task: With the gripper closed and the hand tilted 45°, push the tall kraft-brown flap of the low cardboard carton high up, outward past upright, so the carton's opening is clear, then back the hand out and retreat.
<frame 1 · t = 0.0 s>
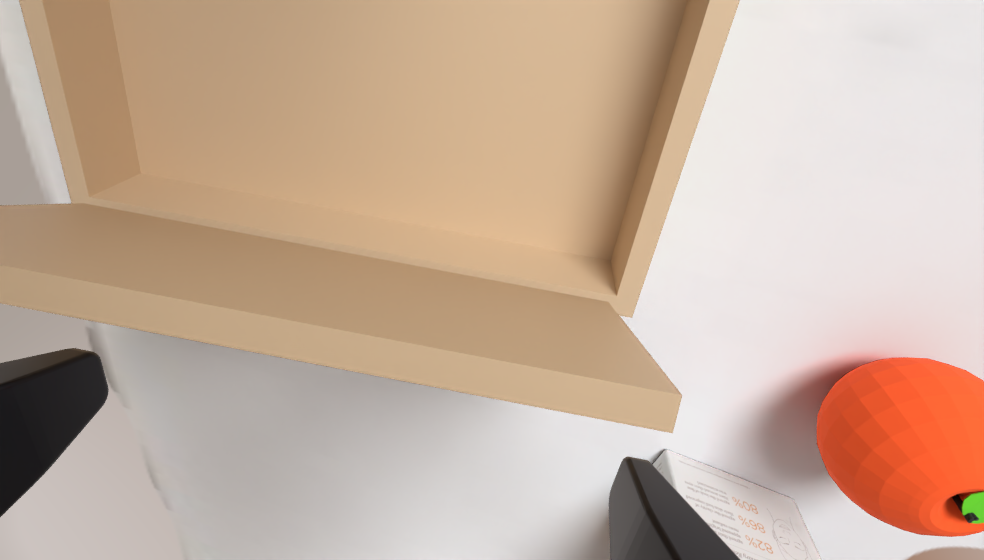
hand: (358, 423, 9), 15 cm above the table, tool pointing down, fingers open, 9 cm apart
clementine: (882, 379, 25), on the table
carton flap: (289, 283, 15), point 9 cm above the table, hinge at -20.0°
small box: (700, 498, 30), on the table
carton: (385, 31, 20), on the table
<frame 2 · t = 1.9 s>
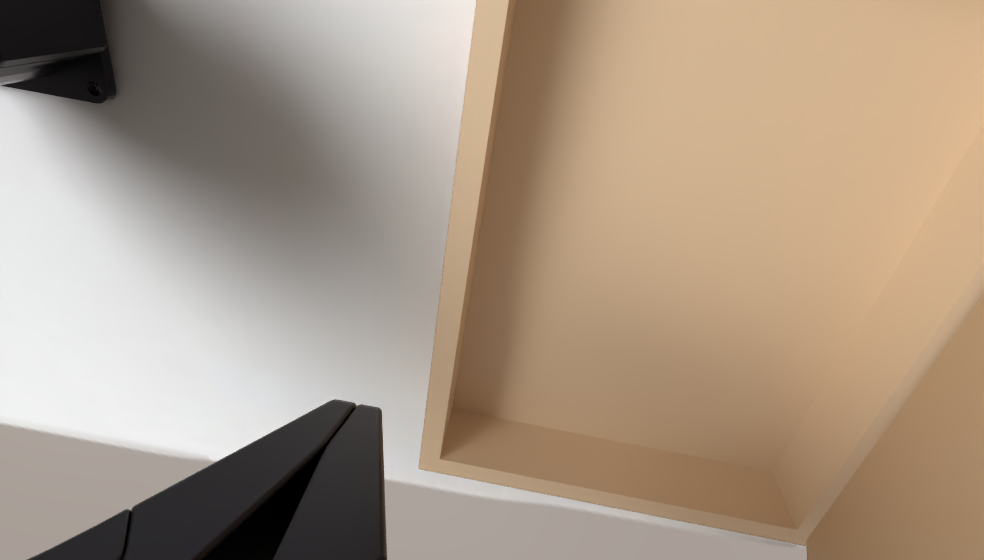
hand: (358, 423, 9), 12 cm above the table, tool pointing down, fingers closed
carton: (684, 227, 19), on the table
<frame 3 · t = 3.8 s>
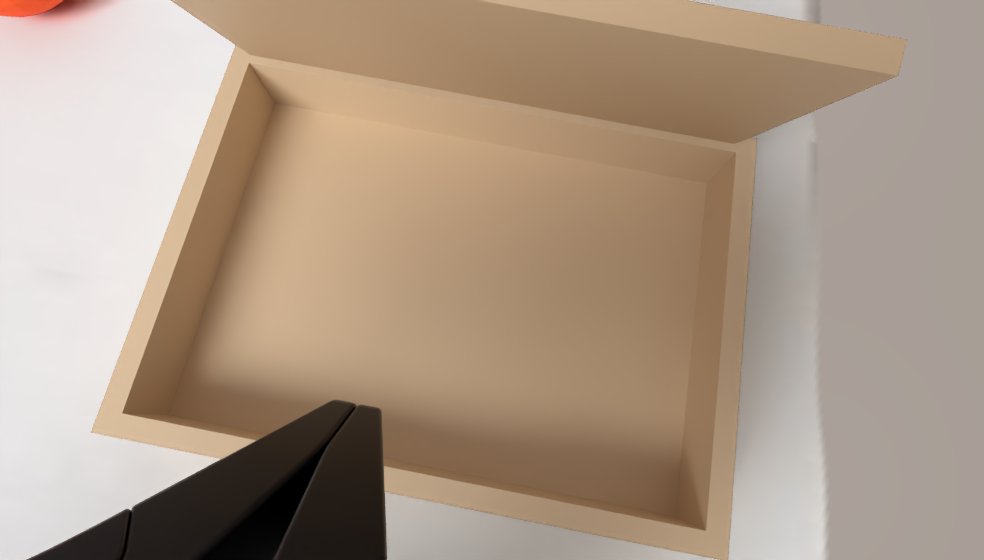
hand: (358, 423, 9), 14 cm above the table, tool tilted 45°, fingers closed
carton flap: (485, 49, 17), point 9 cm above the table, hinge at -20.0°
carton: (457, 294, 24), on the table
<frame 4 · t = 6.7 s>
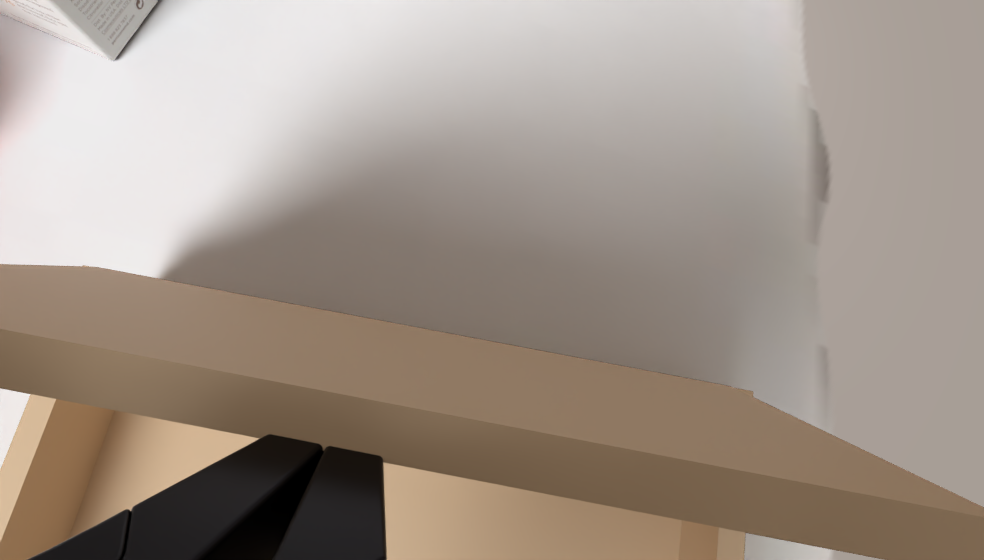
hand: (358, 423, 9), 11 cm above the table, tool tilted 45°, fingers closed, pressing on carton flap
carton flap: (369, 361, 12), point 9 cm above the table, hinge at -15.3°, touching gripper
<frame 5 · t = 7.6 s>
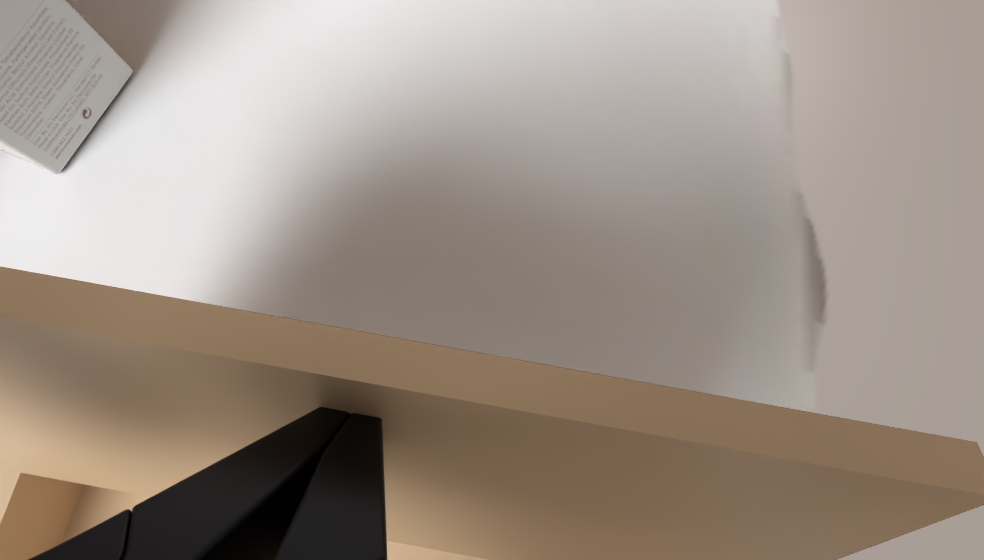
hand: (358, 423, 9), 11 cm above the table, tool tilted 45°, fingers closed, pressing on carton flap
carton flap: (345, 460, 11), point 8 cm above the table, hinge at 23.6°, touching gripper
small box: (24, 93, 23), on the table
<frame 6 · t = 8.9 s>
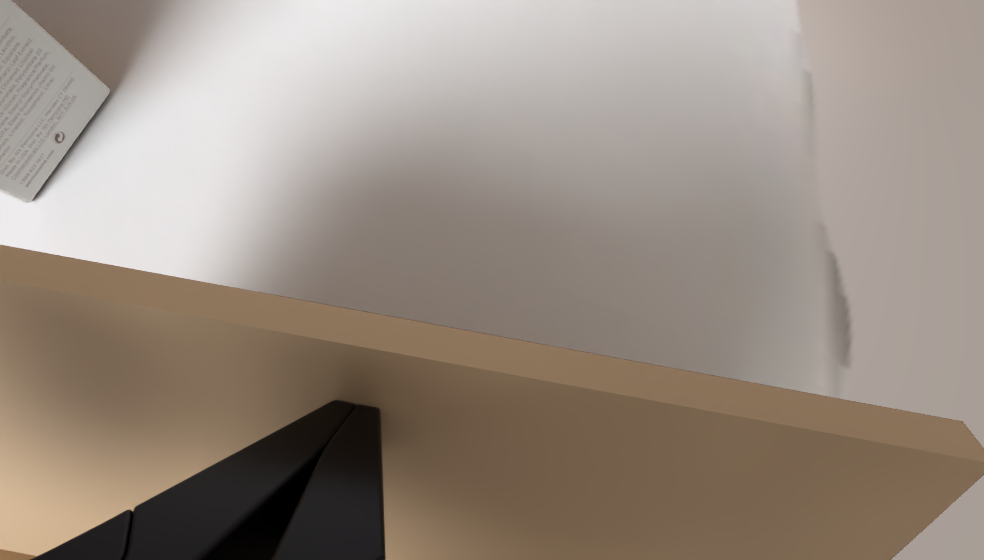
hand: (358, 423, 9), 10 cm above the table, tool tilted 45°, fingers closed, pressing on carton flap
carton flap: (351, 494, 11), point 8 cm above the table, hinge at 40.0°, touching gripper
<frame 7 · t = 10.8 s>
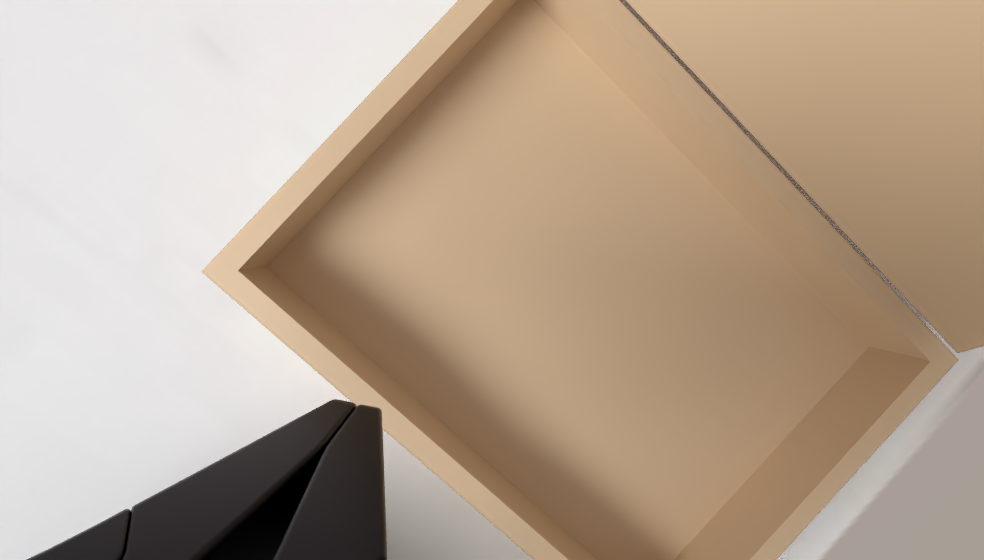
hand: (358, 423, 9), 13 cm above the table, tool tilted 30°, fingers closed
carton flap: (923, 52, 15), point 8 cm above the table, hinge at 40.2°
carton: (581, 307, 22), on the table
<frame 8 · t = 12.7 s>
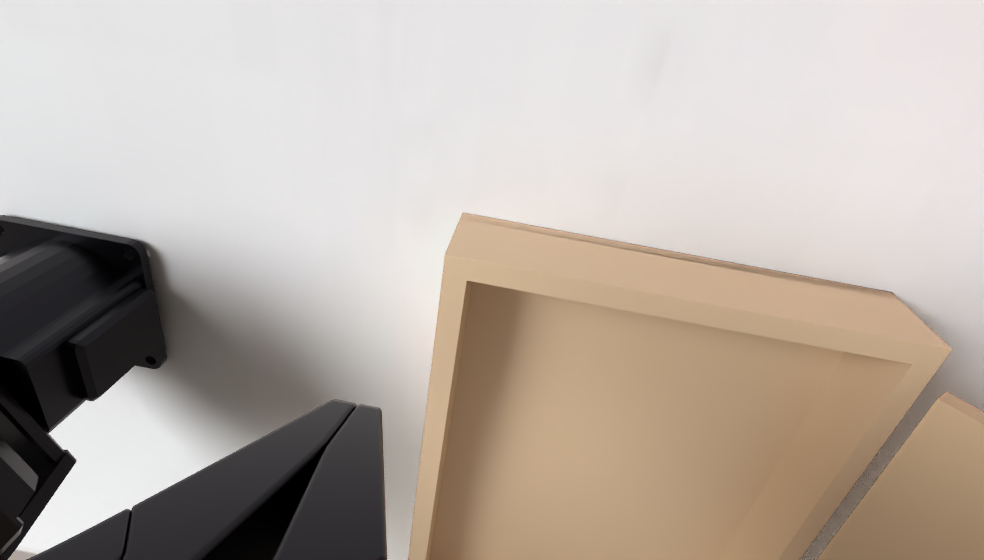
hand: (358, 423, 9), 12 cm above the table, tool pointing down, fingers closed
carton: (600, 458, 25), on the table
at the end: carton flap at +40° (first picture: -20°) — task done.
